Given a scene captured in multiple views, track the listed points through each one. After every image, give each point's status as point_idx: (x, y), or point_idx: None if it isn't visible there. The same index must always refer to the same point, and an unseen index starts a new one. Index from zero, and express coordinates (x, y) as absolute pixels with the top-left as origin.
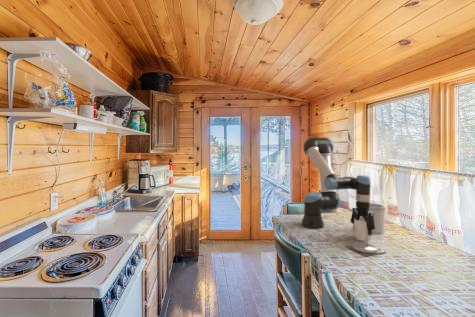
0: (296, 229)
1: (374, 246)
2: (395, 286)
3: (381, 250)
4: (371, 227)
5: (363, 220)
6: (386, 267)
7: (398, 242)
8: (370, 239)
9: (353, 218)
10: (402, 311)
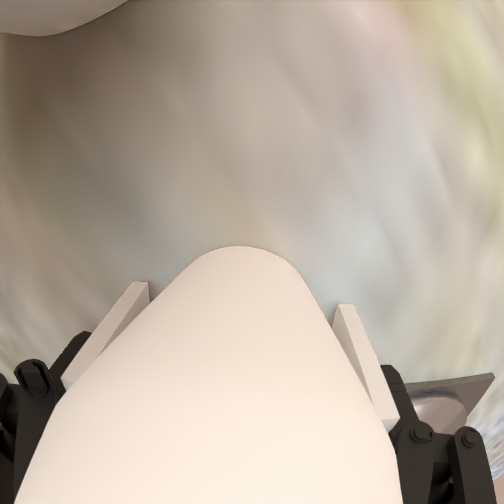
0: None
1: (442, 410)
2: (494, 465)
3: (475, 386)
4: (442, 491)
5: (58, 439)
6: (486, 445)
7: (495, 46)
8: (354, 309)
9: (8, 478)
10: (493, 480)
